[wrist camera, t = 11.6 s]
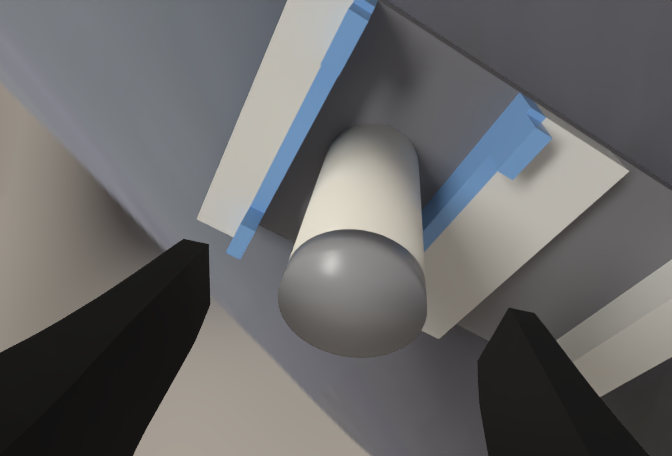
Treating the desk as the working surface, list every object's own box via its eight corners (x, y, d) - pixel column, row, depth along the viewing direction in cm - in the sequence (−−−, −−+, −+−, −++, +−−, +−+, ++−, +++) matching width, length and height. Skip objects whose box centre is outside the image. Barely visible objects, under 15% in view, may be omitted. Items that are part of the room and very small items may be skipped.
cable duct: (755, 241, 17) (831, 307, 14) (563, 365, 22) (587, 432, 19) (318, -44, 13) (294, -37, 10) (219, 188, 19) (184, 236, 16)
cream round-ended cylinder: (438, 154, 16) (459, 296, 9) (385, 221, 18) (375, 375, 11) (354, 104, 15) (318, 223, 9) (309, 180, 17) (256, 319, 11)
